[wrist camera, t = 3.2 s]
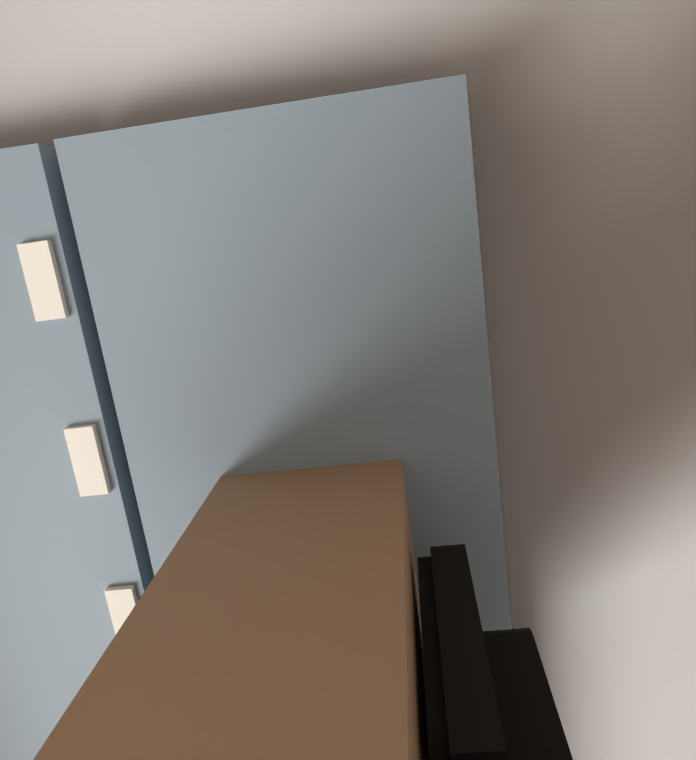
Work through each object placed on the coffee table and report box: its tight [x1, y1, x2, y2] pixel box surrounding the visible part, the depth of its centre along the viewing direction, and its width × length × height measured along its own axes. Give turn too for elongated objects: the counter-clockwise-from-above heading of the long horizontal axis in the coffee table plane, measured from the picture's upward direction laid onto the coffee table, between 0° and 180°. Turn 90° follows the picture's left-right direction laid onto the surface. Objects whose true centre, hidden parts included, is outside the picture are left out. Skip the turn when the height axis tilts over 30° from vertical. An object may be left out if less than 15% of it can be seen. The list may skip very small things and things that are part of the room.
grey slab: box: [34, 74, 512, 760], centre depth 9 cm, size 6×16×7 cm, turn 8°
